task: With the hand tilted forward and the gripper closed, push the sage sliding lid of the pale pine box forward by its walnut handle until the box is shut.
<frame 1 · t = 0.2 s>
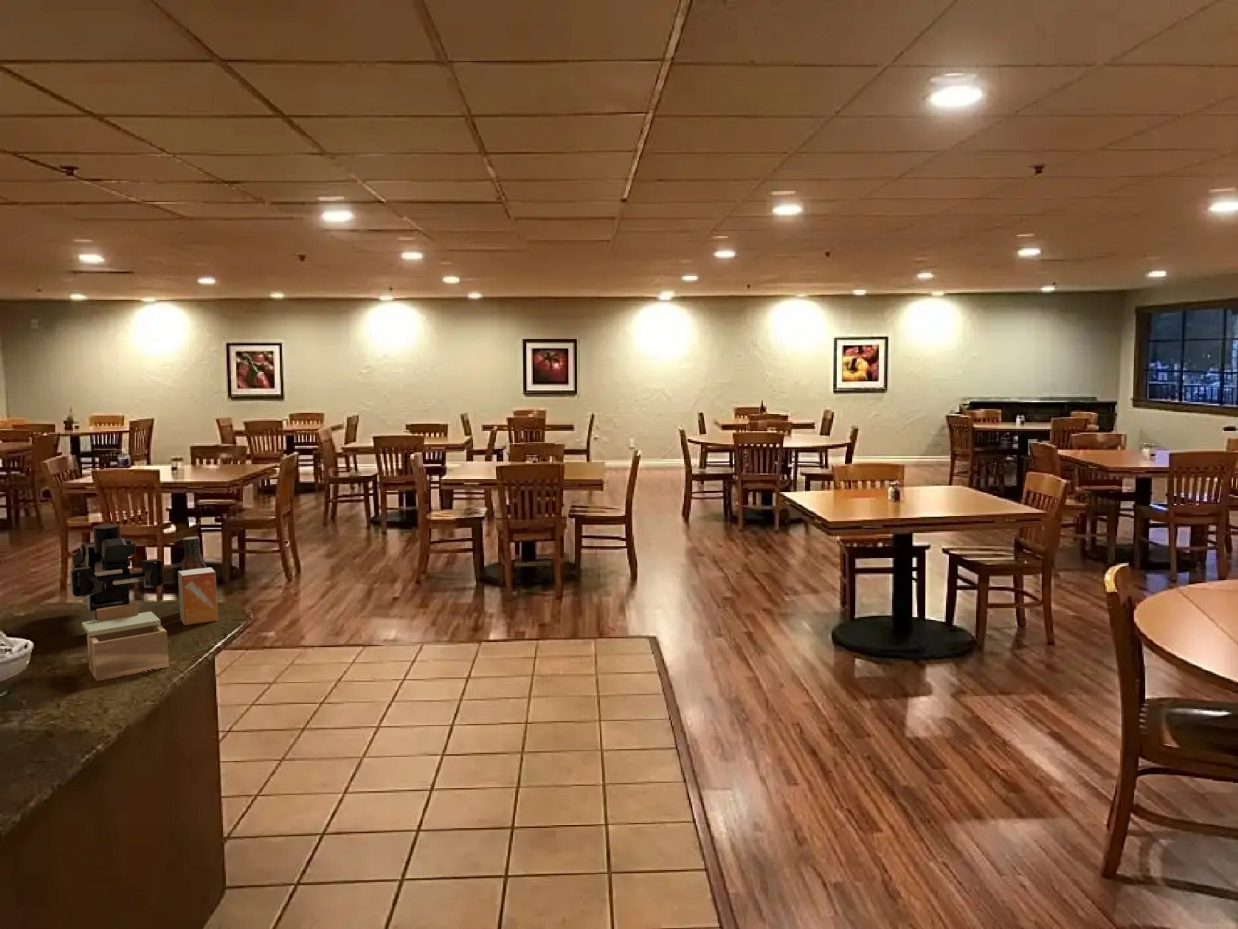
hand: (125, 585, 210), 16 cm above the countertop, tool horizontal, fingers open, 9 cm apart
small box: (199, 621, 241), on the countertop
lid: (121, 618, 208), point 10 cm above the countertop, slide at 5.5 cm
sauce bottle: (197, 611, 250), on the countertop
box: (129, 668, 204), on the countertop
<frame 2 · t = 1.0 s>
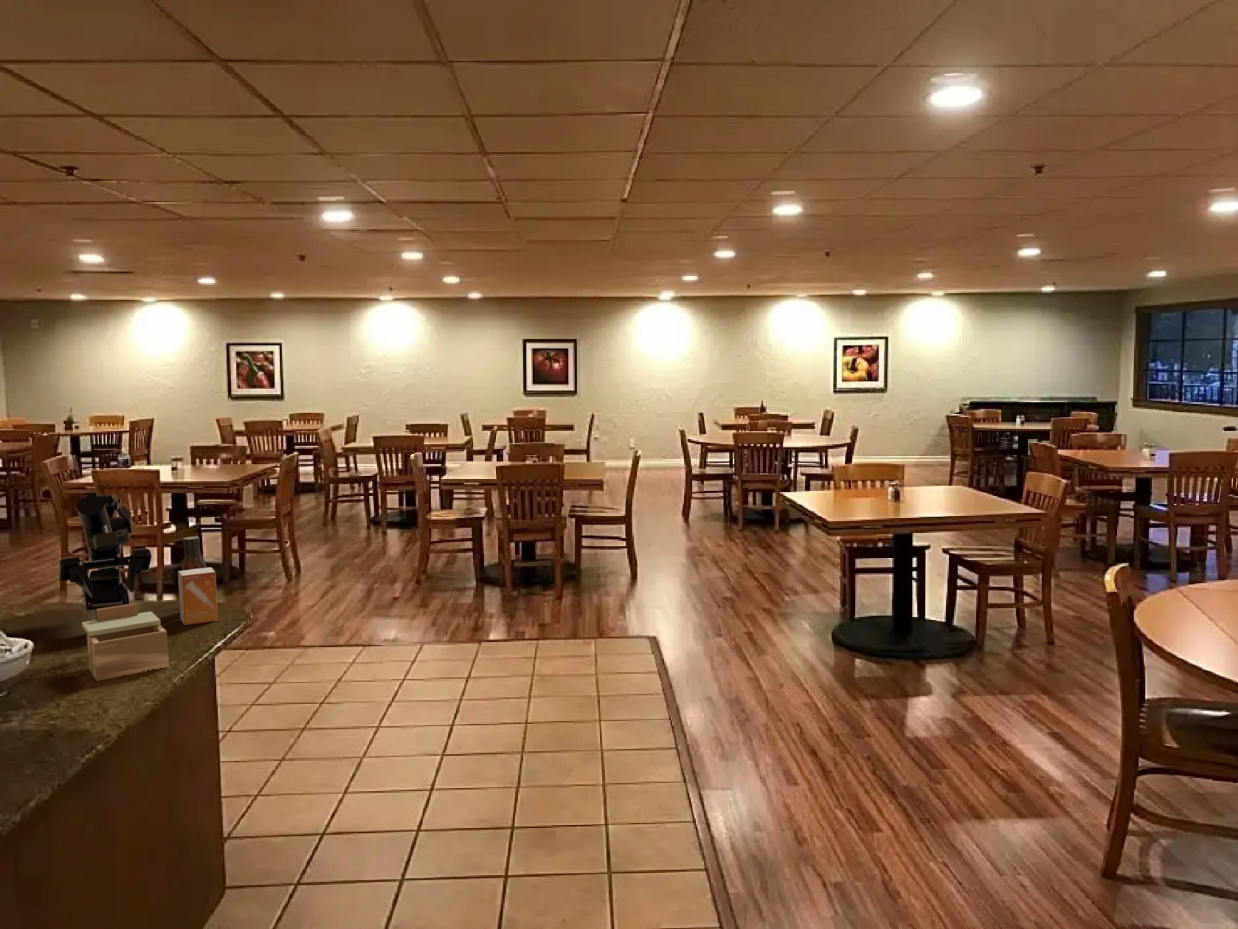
hand: (112, 594, 214), 14 cm above the countertop, tool tilted 45°, fingers open, 8 cm apart
nothing on the countertop moved.
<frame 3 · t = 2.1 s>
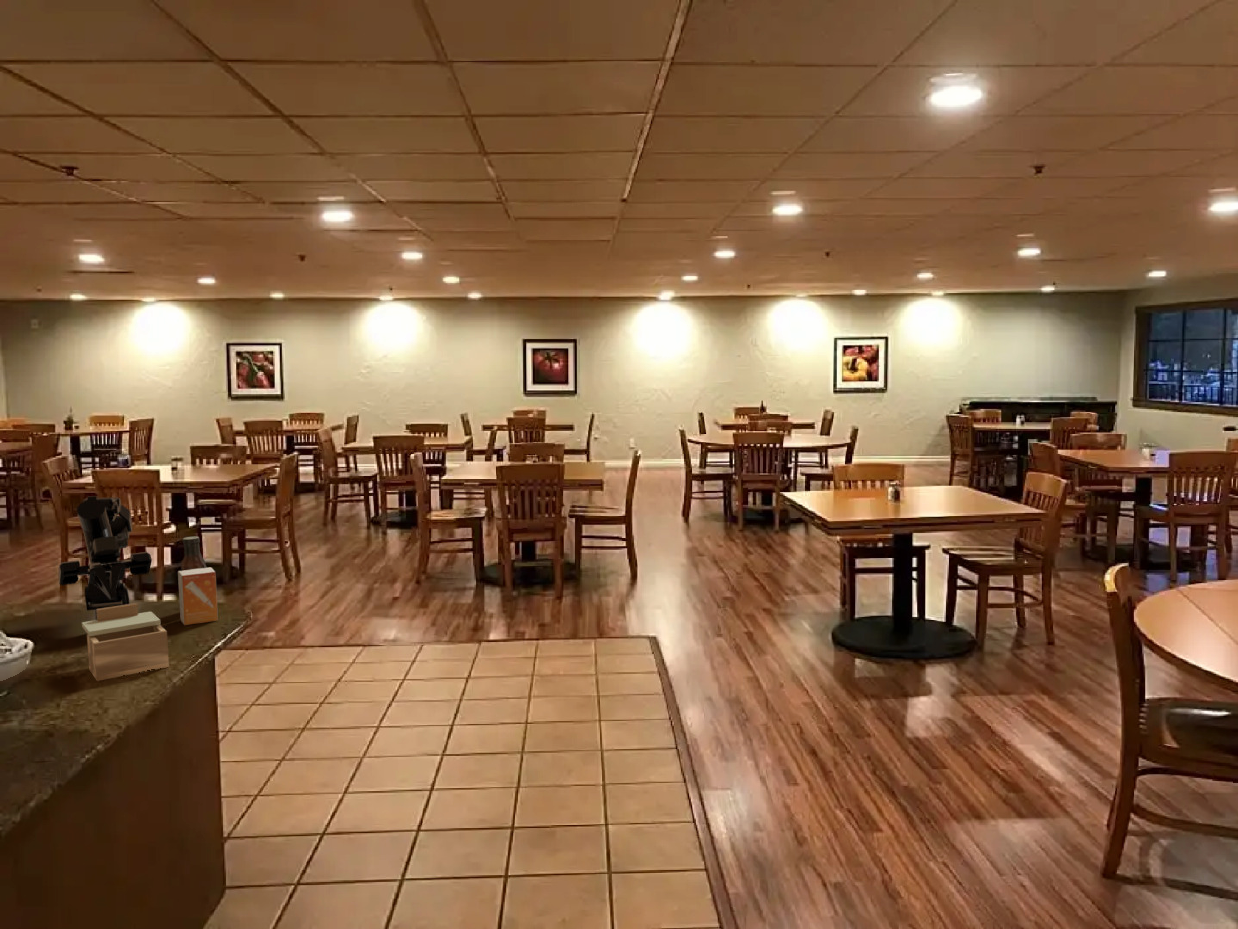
hand: (112, 598, 214), 13 cm above the countertop, tool tilted 45°, fingers closed
nothing on the countertop moved.
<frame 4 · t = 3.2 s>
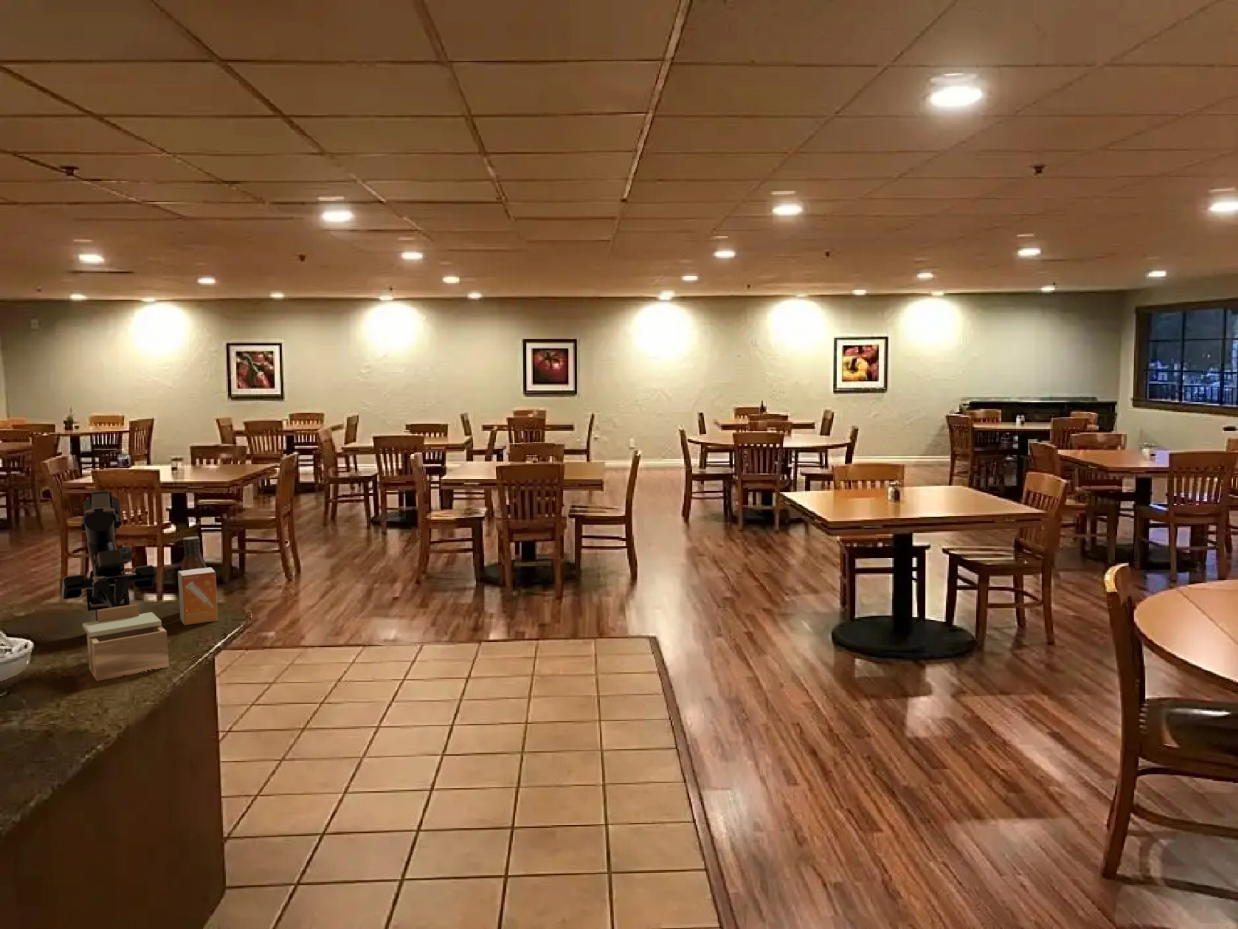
hand: (116, 612, 211), 10 cm above the countertop, tool tilted 45°, fingers closed, pressing on lid
lid: (121, 618, 207), point 10 cm above the countertop, slide at 4.7 cm, touching gripper
everything else where it was.
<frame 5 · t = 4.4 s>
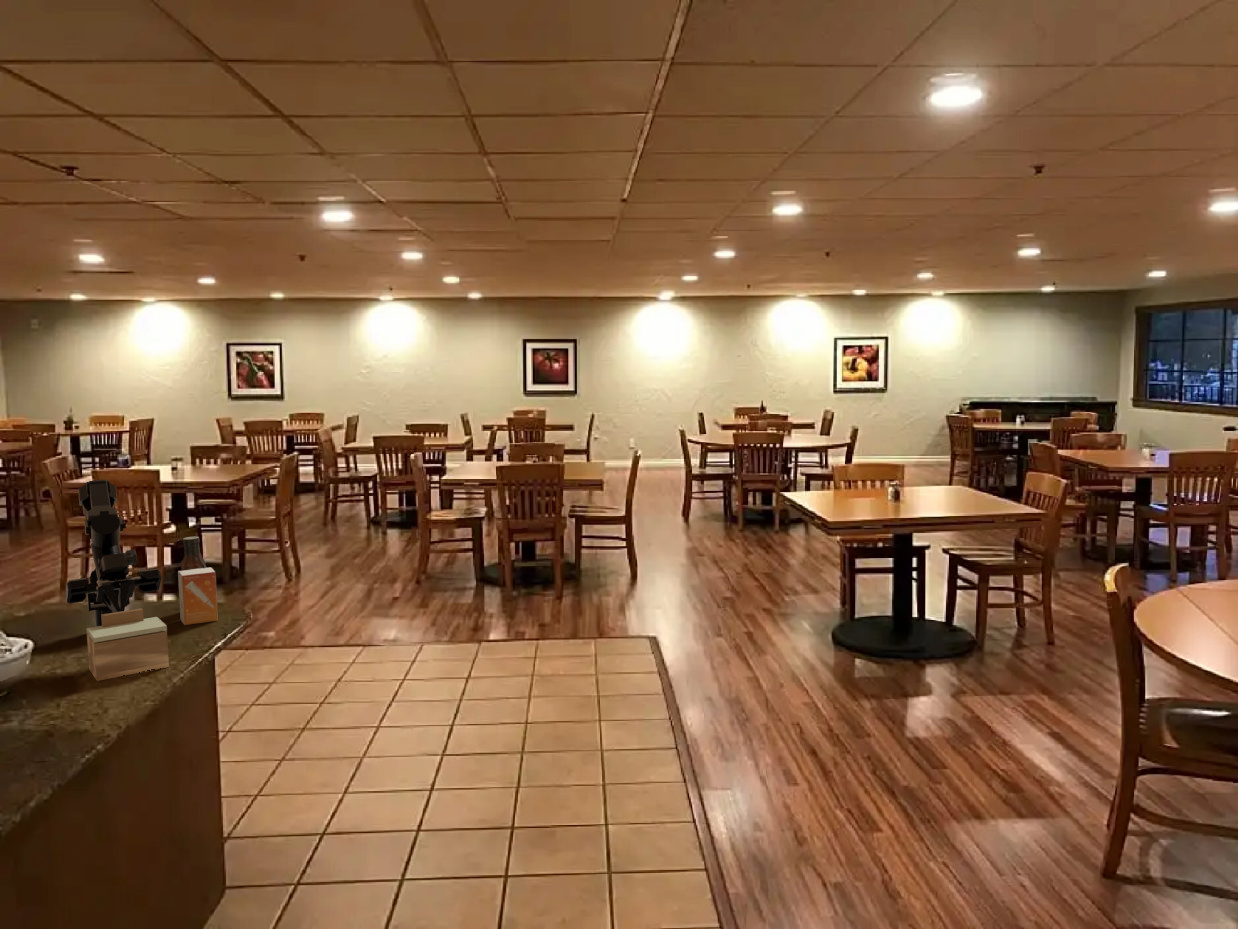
hand: (121, 617, 207), 10 cm above the countertop, tool tilted 45°, fingers closed, pressing on lid
lid: (126, 623, 203), point 10 cm above the countertop, slide at -0.2 cm, touching gripper
everything else where it was.
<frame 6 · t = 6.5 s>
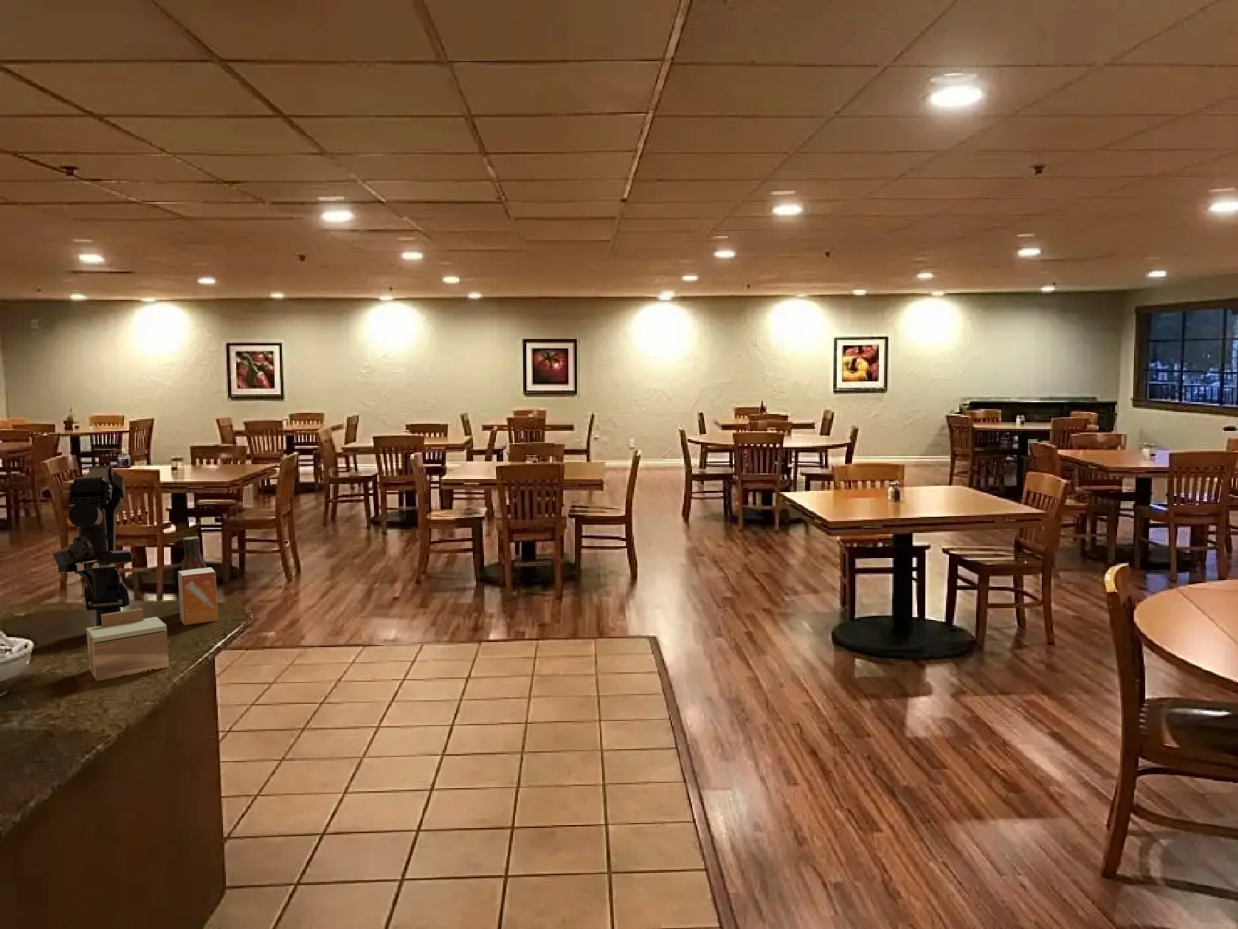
hand: (98, 599, 213), 13 cm above the countertop, tool pointing down, fingers closed
lid: (126, 623, 203), point 10 cm above the countertop, slide at 0.0 cm
everything else where it was.
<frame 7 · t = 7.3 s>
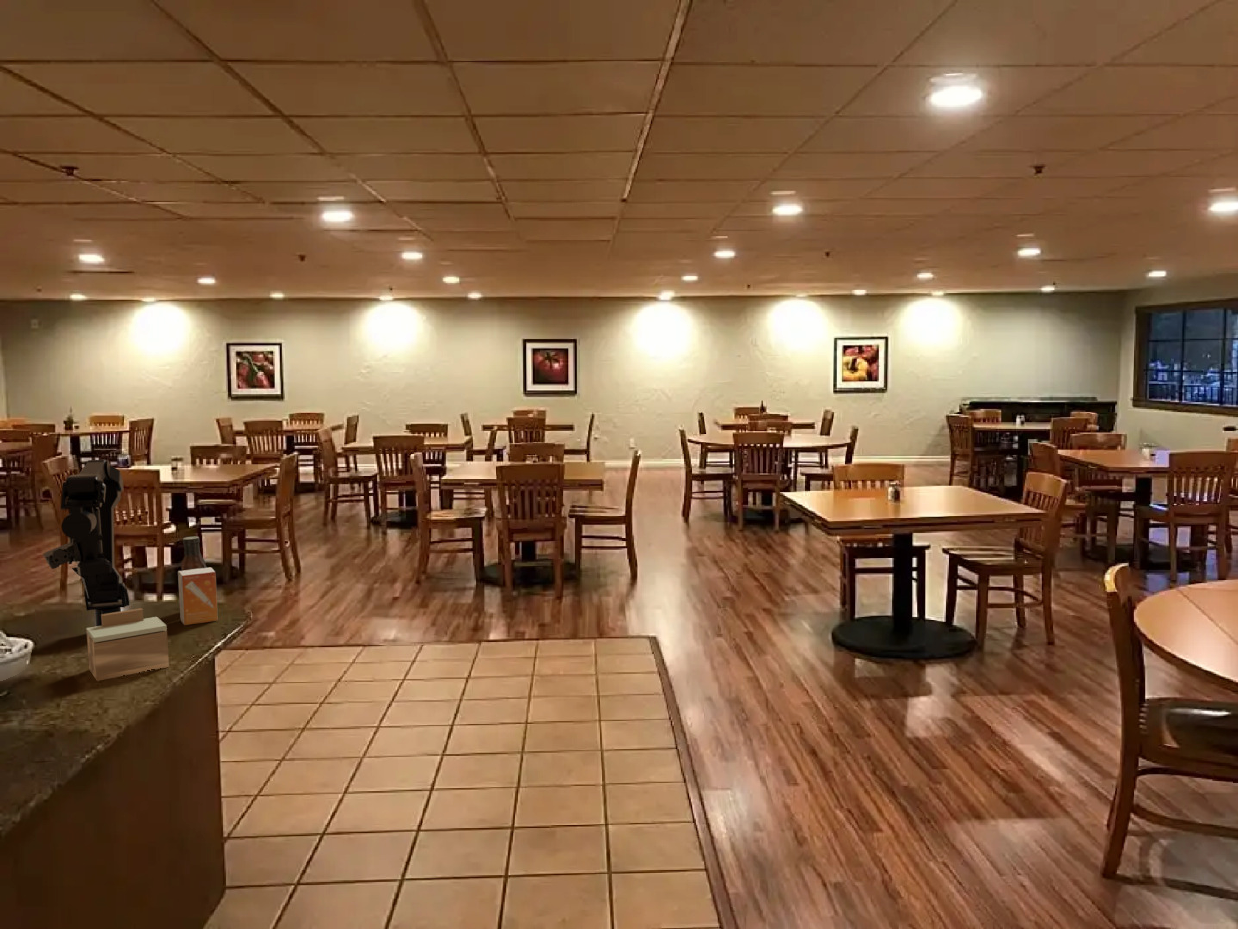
hand: (91, 598, 213), 13 cm above the countertop, tool pointing down, fingers closed
nothing on the countertop moved.
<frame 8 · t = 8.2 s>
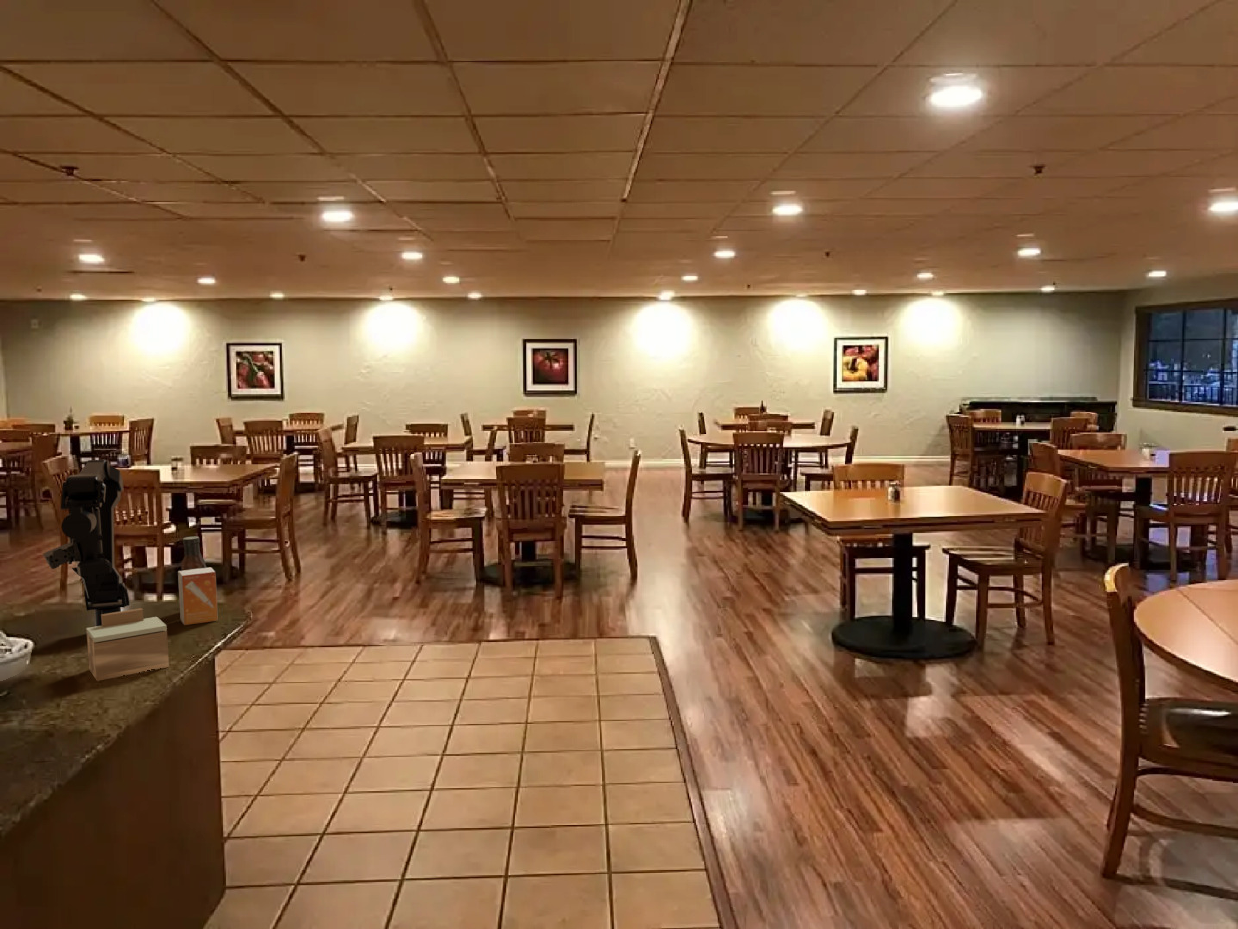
hand: (91, 598, 213), 13 cm above the countertop, tool pointing down, fingers closed
nothing on the countertop moved.
at the end: lid slide at 0.0 cm; sauce bottle moved 0.2 cm from its start; small box moved 0.2 cm from its start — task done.
